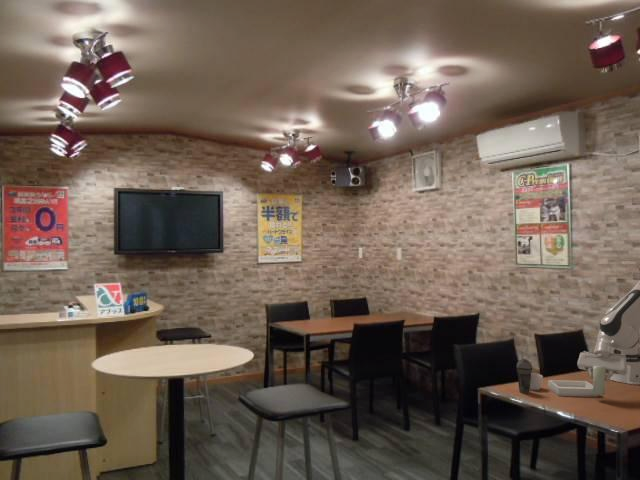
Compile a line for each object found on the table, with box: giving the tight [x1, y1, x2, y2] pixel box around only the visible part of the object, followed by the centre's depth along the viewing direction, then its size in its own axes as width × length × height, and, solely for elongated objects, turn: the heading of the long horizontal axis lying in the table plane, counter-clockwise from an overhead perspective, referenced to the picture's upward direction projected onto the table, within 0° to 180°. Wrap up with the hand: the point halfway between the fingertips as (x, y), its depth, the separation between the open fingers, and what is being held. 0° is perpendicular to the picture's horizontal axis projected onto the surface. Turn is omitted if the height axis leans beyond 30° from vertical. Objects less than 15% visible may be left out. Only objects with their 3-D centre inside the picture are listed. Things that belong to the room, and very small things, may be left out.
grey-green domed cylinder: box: [592, 365, 607, 396], centre depth 247 cm, size 5×5×12 cm
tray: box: [547, 379, 600, 398], centre depth 262 cm, size 18×16×4 cm
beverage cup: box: [516, 349, 533, 394], centre depth 262 cm, size 7×7×20 cm
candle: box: [530, 372, 544, 391], centre depth 269 cm, size 9×9×6 cm
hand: (599, 378), depth 246 cm, fingers closed on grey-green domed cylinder, 5 cm apart
